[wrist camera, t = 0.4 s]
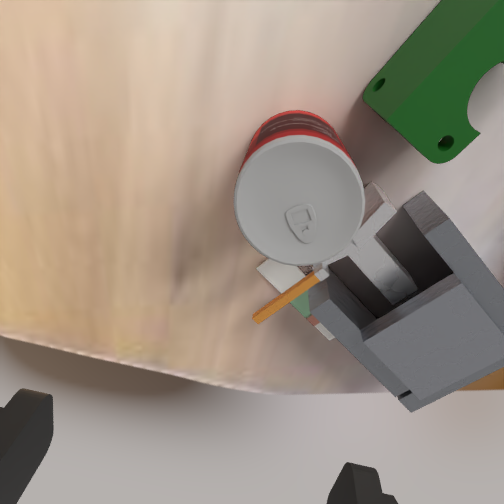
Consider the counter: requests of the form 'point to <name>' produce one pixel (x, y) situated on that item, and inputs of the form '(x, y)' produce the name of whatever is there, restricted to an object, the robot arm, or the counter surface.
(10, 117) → the counter surface
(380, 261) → the plunger
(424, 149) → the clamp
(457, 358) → the box
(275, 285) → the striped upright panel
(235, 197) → the canned food
